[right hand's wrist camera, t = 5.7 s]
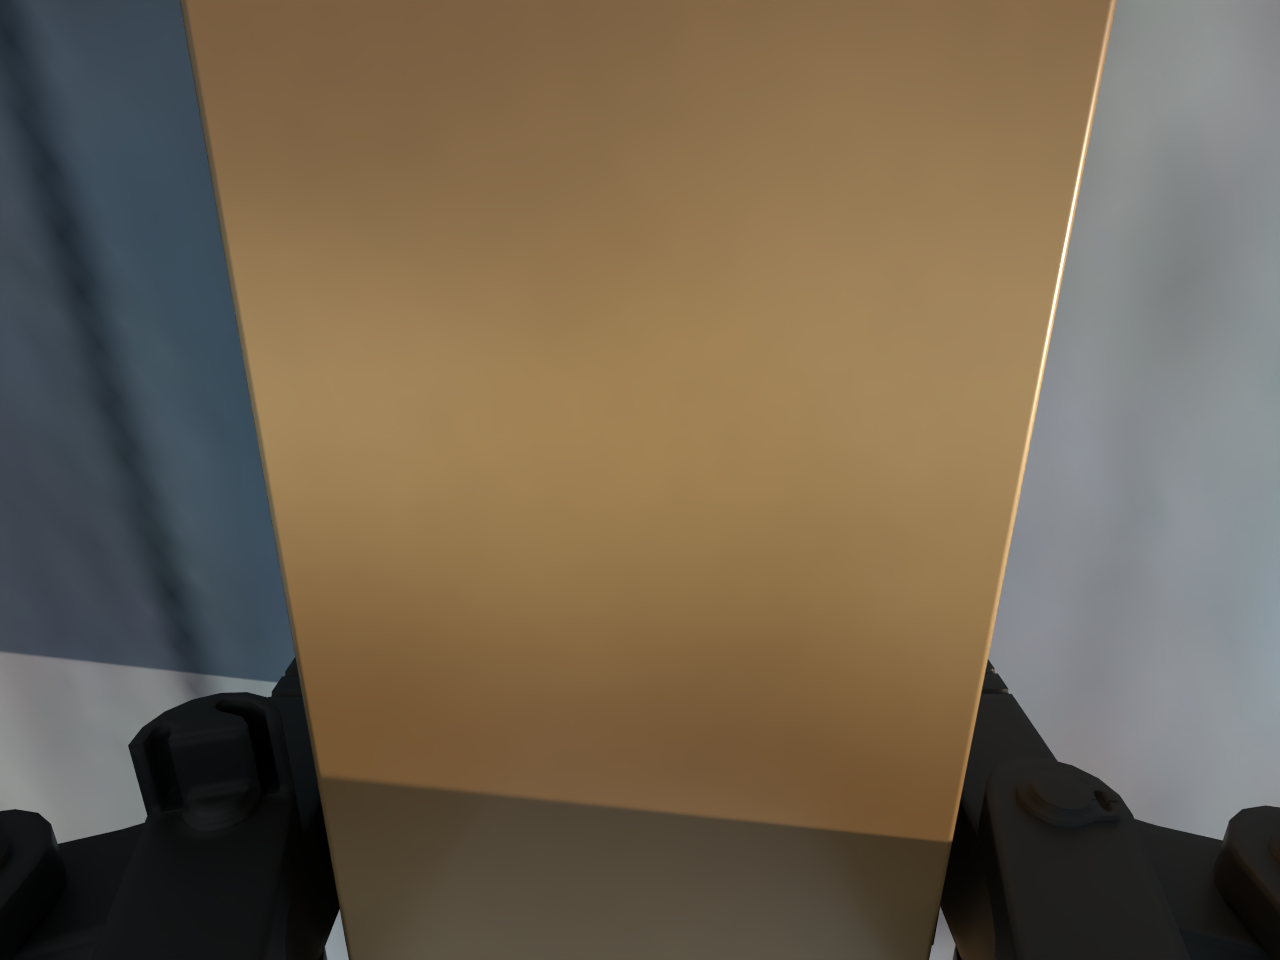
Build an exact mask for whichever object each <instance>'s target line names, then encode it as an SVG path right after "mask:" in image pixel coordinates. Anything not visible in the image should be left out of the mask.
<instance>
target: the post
mask: <svg viewBox="0 0 1280 960" xmlns="http://www.w3.org/2000/svg"><path fill="white" fill-rule="evenodd" d="M180 4H181V10H182V15H183V21H184V27H185V32H186V38H187V44H188V49H189V55H190V61H191V66H192V72H193V78H194V83H195V89H196V95H197V100H198V106H199V112H200V117H201V123H202V129H203V134H204V140H205V146H206V151H207V157H208V163H209V168H210V174H211V180H212V185H213V191H214V197H215V202H216V208H217V214H218V220H219V225H220V231H221V237H222V242H223V248H224V254H225V259H226V265H227V271H228V276H229V282H230V288H231V293H232V299H233V305H234V310H235V316H236V322H237V327H238V333H239V339H240V344H241V350H242V356H243V361H244V367H245V373H246V378H247V384H248V390H249V395H250V401H251V407H252V412H253V418H254V424H255V429H256V435H257V441H258V446H259V452H260V458H261V463H262V469H263V475H264V480H265V486H266V492H267V497H268V503H269V509H270V515H271V520H272V526H273V532H274V537H275V543H276V549H277V554H278V560H279V566H280V571H281V577H282V583H283V588H284V594H285V600H286V605H287V611H288V617H289V622H290V628H291V634H292V639H293V645H294V651H295V656H296V662H297V668H298V673H299V679H300V685H301V690H302V696H303V702H304V707H305V713H306V719H307V724H308V730H309V736H310V741H311V747H312V753H313V758H314V764H315V770H316V775H317V781H318V787H319V793H320V798H321V804H322V810H323V815H324V821H325V827H326V832H327V838H328V844H329V849H330V855H331V861H332V866H333V872H334V878H335V883H336V889H337V895H338V900H339V906H340V912H341V917H342V923H343V929H344V934H345V940H346V946H347V951H348V957H349V960H929V957H930V952H931V947H932V942H933V937H934V932H935V927H936V921H937V916H938V911H939V906H940V901H941V896H942V891H943V886H944V880H945V875H946V870H947V865H948V860H949V855H950V850H951V845H952V840H953V834H954V829H955V824H956V819H957V814H958V809H959V804H960V799H961V793H962V788H963V783H964V778H965V773H966V768H967V763H968V758H969V753H970V747H971V742H972V737H973V732H974V727H975V722H976V717H977V712H978V706H979V701H980V696H981V691H982V686H983V681H984V676H985V671H986V666H987V660H988V655H989V650H990V645H991V640H992V635H993V630H994V625H995V619H996V614H997V609H998V604H999V599H1000V594H1001V589H1002V584H1003V579H1004V573H1005V568H1006V563H1007V558H1008V553H1009V548H1010V543H1011V538H1012V532H1013V527H1014V522H1015V517H1016V512H1017V507H1018V502H1019V497H1020V492H1021V486H1022V481H1023V476H1024V471H1025V466H1026V461H1027V456H1028V451H1029V445H1030V440H1031V435H1032V430H1033V425H1034V420H1035V415H1036V410H1037V405H1038V399H1039V394H1040V389H1041V384H1042V379H1043V374H1044V369H1045V364H1046V358H1047V353H1048V348H1049V343H1050V338H1051V333H1052V328H1053V323H1054V318H1055V312H1056V307H1057V302H1058V297H1059V292H1060V287H1061V282H1062V277H1063V271H1064V266H1065V261H1066V256H1067V251H1068V246H1069V241H1070V236H1071V231H1072V225H1073V220H1074V215H1075V210H1076V205H1077V200H1078V195H1079V190H1080V184H1081V179H1082V174H1083V169H1084V164H1085V159H1086V154H1087V149H1088V144H1089V138H1090V133H1091V128H1092V123H1093V118H1094V113H1095V108H1096V103H1097V98H1098V92H1099V87H1100V82H1101V77H1102V72H1103V67H1104V62H1105V57H1106V51H1107V46H1108V41H1109V36H1110V31H1111V26H1112V21H1113V16H1114V11H1115V5H1116V0H180Z"/></svg>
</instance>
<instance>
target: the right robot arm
mask: <svg viewBox="0 0 1280 960" xmlns="http://www.w3.org/2000/svg"><path fill="white" fill-rule="evenodd" d="M994 670H995V669H994V667H993V666H992V664H991V663H990V661H989V660H987V666H986V671H985V676H984V681H983V686H982V691H981V696H980V701H979V706H978V712H977V717H976V722H975V727H974V732H973V737H972V742H971V747H970V753H969V758H968V763H967V768H966V773H965V778H964V783H963V788H962V793H961V799H960V804H959V809H958V814H957V819H956V824H955V829H954V834H953V840H952V845H951V850H950V855H949V860H948V865H947V870H946V875H945V880H944V886H943V891H942V896H941V901H940V906H941V909H942V911H943V914H944V916H945V919H946V921H947V924H948V927H949V929H950V932H951V934H952V937H953V939H954V942H955V944H956V945H955V951H954V956H953V960H1280V807H1272V806H1260V807H1253V808H1247V809H1242V810H1241V811H1240V812H1239V813H1237V814H1236V815H1235V816H1234V817H1233V818H1232V819H1230V821H1229V824H1228V827H1227V830H1226V833H1225V836H1224V839H1223V841H1222V840H1218V839H1213V838H1209V837H1205V836H1200V835H1196V834H1191V833H1187V832H1183V831H1178V830H1174V829H1169V828H1165V827H1160V826H1156V825H1153V824H1150V823H1146V822H1143V821H1140V820H1136V819H1134V817H1133V815H1132V813H1131V812H1130V810H1129V809H1128V807H1127V806H1126V804H1125V803H1124V801H1123V800H1122V798H1121V797H1120V795H1118V794H1117V793H1116V792H1115V791H1113V790H1112V789H1111V788H1110V787H1108V786H1107V785H1106V784H1105V783H1104V782H1102V781H1101V780H1100V779H1099V778H1097V777H1095V776H1093V775H1091V774H1089V773H1087V772H1084V771H1082V770H1080V769H1078V768H1076V767H1074V766H1072V765H1069V764H1065V763H1061V762H1058V761H1057V760H1056V758H1055V757H1054V755H1053V754H1052V752H1051V751H1050V750H1049V748H1048V747H1047V745H1046V744H1045V742H1044V741H1043V739H1042V738H1041V736H1040V735H1039V733H1038V732H1037V730H1036V729H1035V727H1034V726H1033V725H1032V723H1031V722H1030V720H1029V719H1028V717H1027V716H1026V714H1025V713H1024V711H1023V710H1022V708H1021V707H1020V705H1019V704H1018V703H1017V701H1016V700H1015V698H1014V697H1013V695H1012V694H1009V693H1008V688H1007V686H1006V685H1005V683H1004V682H1003V680H1002V679H1001V678H1000V676H999V675H998V674H995V671H994ZM285 673H286V674H285V676H282V677H281V679H280V680H279V682H278V683H277V685H276V686H275V688H274V689H273V691H272V696H271V697H268V698H267V697H263V696H259V695H256V694H252V693H248V692H239V693H219V694H214V695H210V696H206V697H202V698H197V699H193V700H190V701H188V702H186V703H184V704H181V705H179V706H177V707H174V708H172V709H170V710H167V711H165V712H164V713H162V714H161V715H159V716H158V717H157V718H155V719H154V720H152V721H151V722H149V723H148V724H147V725H145V726H144V727H142V729H141V730H140V731H139V732H138V734H137V735H136V736H135V737H134V739H133V740H132V741H131V743H130V744H129V745H128V747H129V750H130V754H131V757H132V761H133V765H134V768H135V772H136V776H137V779H138V783H139V787H140V790H141V794H142V797H143V801H144V805H145V808H146V812H147V818H146V821H145V823H142V824H139V825H135V826H132V827H129V828H125V829H122V830H117V831H113V832H109V833H104V834H100V835H95V836H91V837H87V838H82V839H78V840H73V841H69V842H65V843H60V844H57V841H56V838H55V835H54V832H53V829H52V826H51V824H50V823H49V822H48V821H47V820H46V819H45V818H43V817H42V816H41V815H40V814H39V813H35V812H29V811H23V810H17V809H14V810H6V811H0V960H327V956H326V951H325V945H326V942H327V940H328V937H329V935H330V932H331V929H332V927H333V924H334V922H335V919H336V917H337V914H338V912H339V909H340V906H339V900H338V895H337V889H336V883H335V878H334V872H333V866H332V861H331V855H330V849H329V844H328V838H327V832H326V827H325V821H324V815H323V810H322V804H321V798H320V793H319V787H318V781H317V775H316V770H315V764H314V758H313V753H312V747H311V741H310V736H309V730H308V724H307V719H306V713H305V707H304V702H303V696H302V690H301V685H300V679H299V673H298V668H297V662H296V657H295V658H294V660H293V661H292V663H291V664H290V666H289V667H288V669H287V670H286V672H285ZM940 906H939V910H940ZM340 913H341V912H340ZM938 916H939V911H938ZM938 916H937V921H938ZM341 919H342V917H341ZM937 921H936V927H937ZM342 924H343V923H342ZM936 927H935V932H934V937H933V942H932V945H933V944H934V938H935V933H936ZM343 930H344V929H343ZM344 936H345V934H344ZM345 941H346V940H345Z"/></svg>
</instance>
